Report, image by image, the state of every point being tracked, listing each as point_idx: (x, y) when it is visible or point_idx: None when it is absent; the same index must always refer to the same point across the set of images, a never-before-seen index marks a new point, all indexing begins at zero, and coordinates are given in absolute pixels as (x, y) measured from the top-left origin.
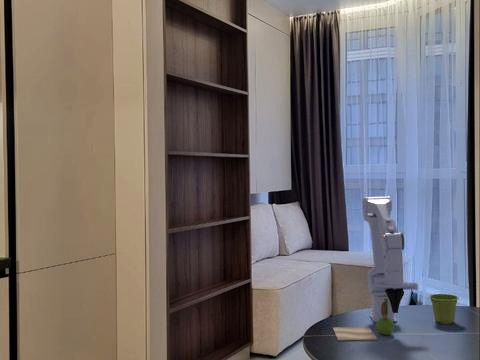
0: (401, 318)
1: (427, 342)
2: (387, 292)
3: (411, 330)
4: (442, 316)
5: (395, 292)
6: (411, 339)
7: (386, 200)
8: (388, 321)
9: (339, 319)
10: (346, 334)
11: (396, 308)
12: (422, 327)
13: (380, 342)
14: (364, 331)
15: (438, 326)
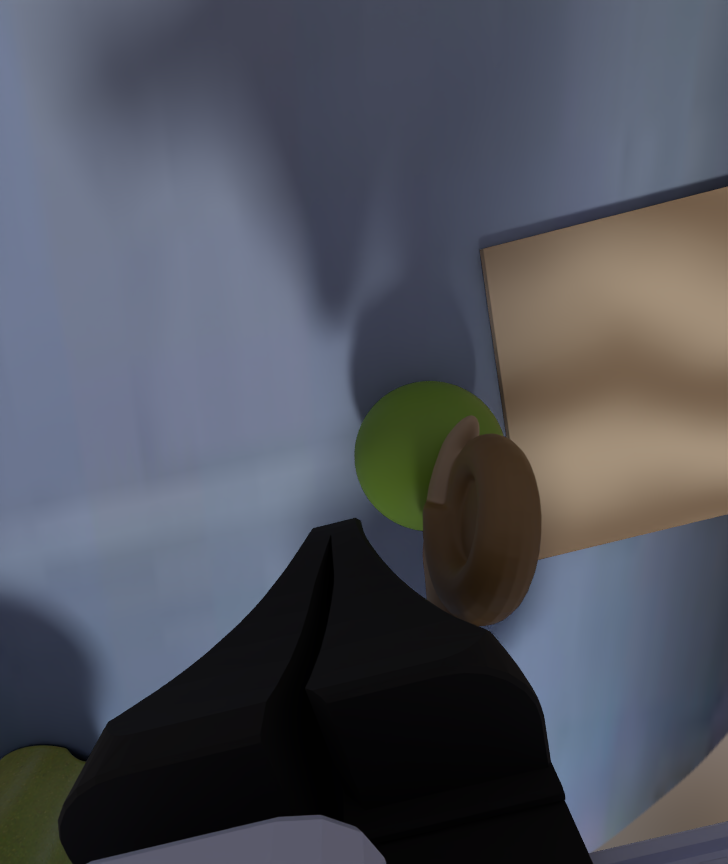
0: None
1: (87, 286)
2: (537, 703)
3: (238, 568)
4: (19, 794)
5: (320, 807)
6: (219, 345)
7: None
8: (406, 429)
9: (694, 696)
10: (711, 337)
11: (321, 545)
12: (172, 647)
13: (455, 204)
14: (567, 447)
15: (73, 688)
